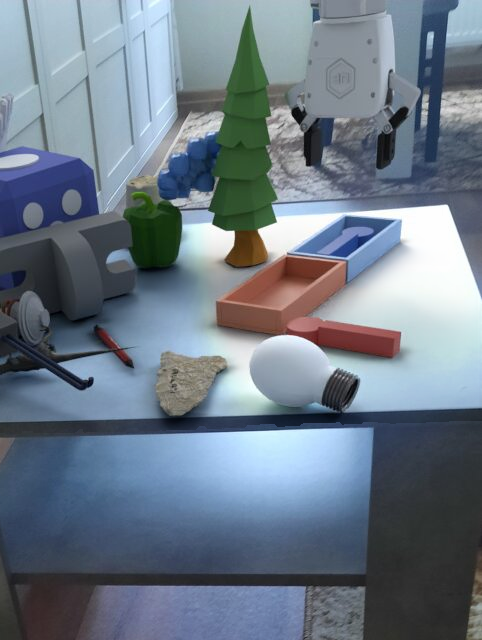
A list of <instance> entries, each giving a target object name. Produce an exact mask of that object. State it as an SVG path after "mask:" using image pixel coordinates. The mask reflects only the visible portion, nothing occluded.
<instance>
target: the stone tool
mask: <svg viewBox="0 0 482 640" xmlns="http://www.w3.org/2000/svg"><path fill="white" fill-rule="evenodd" d="M159 359H160V360H159V361H160V362H159V365H160V368H159V370H157V373H156V375H157V378H158V379H157V380H158V382H157V383H155V384H153V388H154V390H155V393H156V394H157V396H156V399H157V401H158V402H159V406H160V407H161V408H162V410H163V412H164V413H166V414H167V415H168V416H169V417H170V416H171V417H180V416H184V415H185V414H186V413H188V412H190V411H192V409H193V408H196V407H197V406H199V405H200V404H201V403H202V402H203V401H204V400H205V399H206V397H208V390H209V389H210V388H211V386H212V385H213V383H215V378H216V376H217V373H220V371H222V370H225V368H227V367H228V361H227V360H226V358H225V357H223V356H222V355H201V356H199V357H192V356H187V355H184V354H177V353H175V352H173V351H171V350H165V351H162V352H161V354H160V357H159Z"/></svg>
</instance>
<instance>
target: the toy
mask: <svg viewBox="0 0 482 640" xmlns="http://www.w3.org/2000/svg"><path fill="white" fill-rule="evenodd" d="M14 97H15V96H14V95H13V94H11V93H10V92H5V93H3V94H2V96H1V97H0V238H4V237H8V236H12V235H16V234H20V233H24V232H28V231H32V230H37V229H41V228H45V227H49V226H53V225H57V224H61V223H65V222H70V221H74V220H78V219H82V218H86V217H90V216H94V215H98V214H100V208H99V201H98V194H97V187H96V177H95V172H94V171H95V170H94V169H93V168H92V167H91V166H89V164H87V163H86V162H85V161H84V160H82V158H81V157H77V156H72V155H68V154H67V155H66V154H62V153H56V152H52V151H49V150H48V151H47V150H42V149H37V148H33V147H27V146H23V145H21V146H17V147H15V148H12V149H8V150H6V149H7V141H8V132H9V124H10V120H11V116H12V114H13V106H14V105H13V104H14ZM25 278H26V271H25V270H19V271H15V272H11V273H7V274H3V275H0V291H3V290H7V289H11V288H15V287H18V286H19V285H21V284H22V283H23V282H24V280H25Z"/></svg>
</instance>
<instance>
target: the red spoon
mask: <svg viewBox="0 0 482 640" xmlns="http://www.w3.org/2000/svg"><path fill="white" fill-rule="evenodd" d="M285 335H292V336H298V337H301V338H304V339H306V340H308V341H310V342H312V343H314V344H315V345H316V346H321V347H329V348H333V349H334V348H335V349H339V350H340V349H341V350H345V351H350V352H358V353H362V354H369V355H374V356H375V355H376V356H382V357H385V358H386V357H387V358H394V357H395V356H396V355H397V354H398V353H399V352H400V350H401V341H402V340H401V339H402V331H398V330H392V329H386V328H378V327H373V326H366V325H361V324H360V325H359V324H355V323H354V324H353V323H347V322H339V321H333V320H326V319H325V320H323V319H322V318H319V317H316V316H315V317H314V316H305V317H300V318H296V319H293V320H291V321H289V322H288V323H287V325H286V332H285Z"/></svg>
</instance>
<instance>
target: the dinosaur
mask: <svg viewBox="0 0 482 640" xmlns="http://www.w3.org/2000/svg"><path fill="white" fill-rule="evenodd" d="M40 326H42V327H44V328H45V329H41V330H39V331H41V332H43V331H45V332H44V335H46V336H44V337H43V338H42V340H41V341H40V342H39V343H38V344H37V347H36V348H35V350H37V351H38V352H40V353H41V354H43V355H44V356H46V357H48V358H49V359H51V360H52V361H54V362H55V363H57V364H60V363H66V362H69V361H74V360H78V359H84V358H88V357H92V356H98V355H104V354H108V353H114V351H119V350H123V351H124V350H130V349H135V348H136V346H130V347H121V348H119V349H110V348H109V349H100V350H89V351H80V352H79V351H78V352H71V353H58V352H57V349H56V345H55V344H50V343H49V341H50V338H51V337H52V335H53V331H52V327H51V326H49V325H48V326H44V325H40ZM138 348H141V345H140V346H138ZM44 369H45V368H44V367H42V366H41V365H39V364H38V363H36V362H34V361H33V360H31V359H30V358H28V357H27V356H25V355H24V354H22V353H20V354H19V355H17V356H14V357H13V356H12V353H11V354H9V355H8V358H7V359H6V361H5V362H4V363H1V364H0V376H2V375H3V374H6V373H11V372H12V373H19V372H25V373H27V372H33V371H39V370H44ZM45 370H46V369H45Z"/></svg>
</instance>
